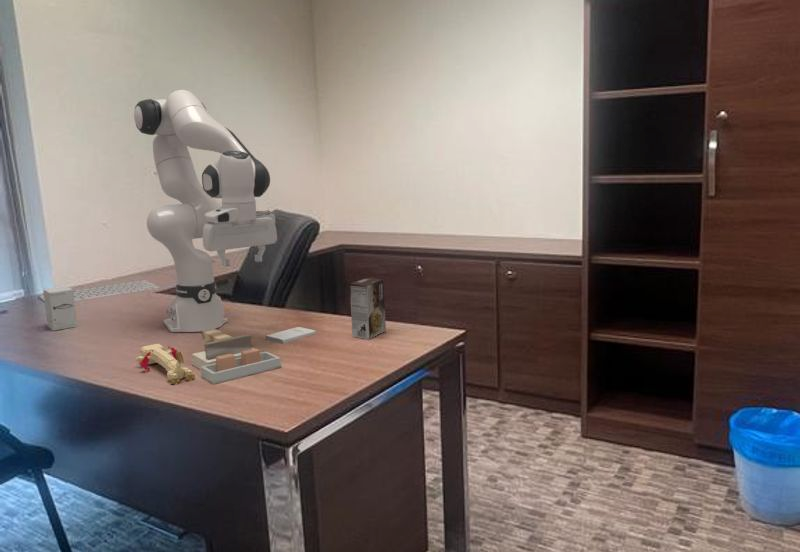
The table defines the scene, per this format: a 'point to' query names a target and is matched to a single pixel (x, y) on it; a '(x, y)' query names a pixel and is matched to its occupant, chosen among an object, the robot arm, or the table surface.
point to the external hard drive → (290, 335)
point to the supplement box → (60, 308)
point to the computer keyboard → (110, 290)
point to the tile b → (250, 356)
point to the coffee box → (367, 308)
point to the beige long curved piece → (165, 362)
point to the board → (201, 360)
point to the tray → (241, 368)
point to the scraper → (224, 343)
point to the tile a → (225, 362)
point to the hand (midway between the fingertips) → (242, 263)
